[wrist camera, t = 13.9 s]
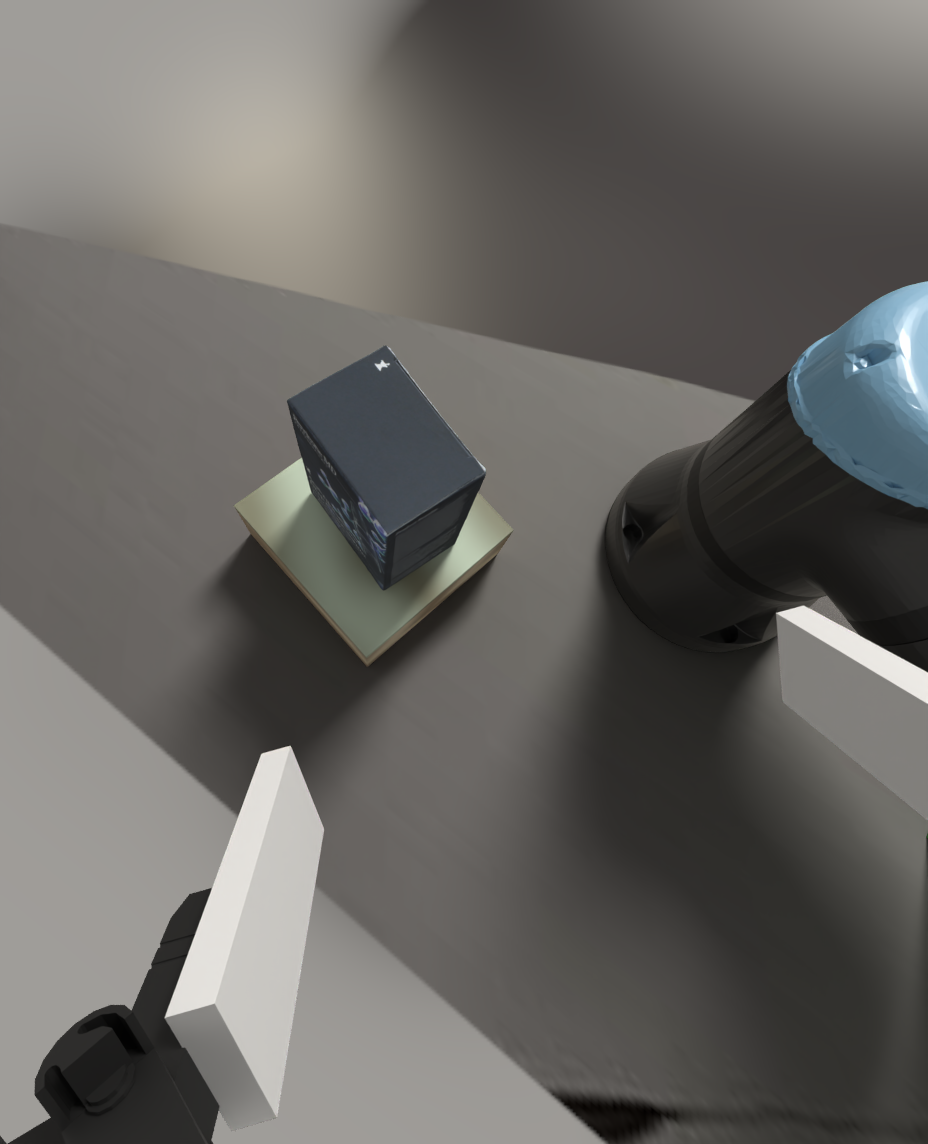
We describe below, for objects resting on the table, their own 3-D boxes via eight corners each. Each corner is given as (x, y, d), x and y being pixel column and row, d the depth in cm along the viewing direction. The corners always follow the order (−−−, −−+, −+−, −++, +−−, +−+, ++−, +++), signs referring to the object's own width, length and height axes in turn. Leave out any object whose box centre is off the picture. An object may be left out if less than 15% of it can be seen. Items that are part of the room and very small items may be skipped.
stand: (386, 434, 43) (388, 396, 38) (497, 553, 42) (513, 530, 37) (250, 533, 40) (233, 505, 35) (367, 667, 38) (366, 657, 34)
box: (308, 492, 36) (282, 395, 26) (385, 447, 37) (389, 339, 27) (382, 595, 35) (386, 537, 25) (458, 544, 36) (491, 469, 26)
